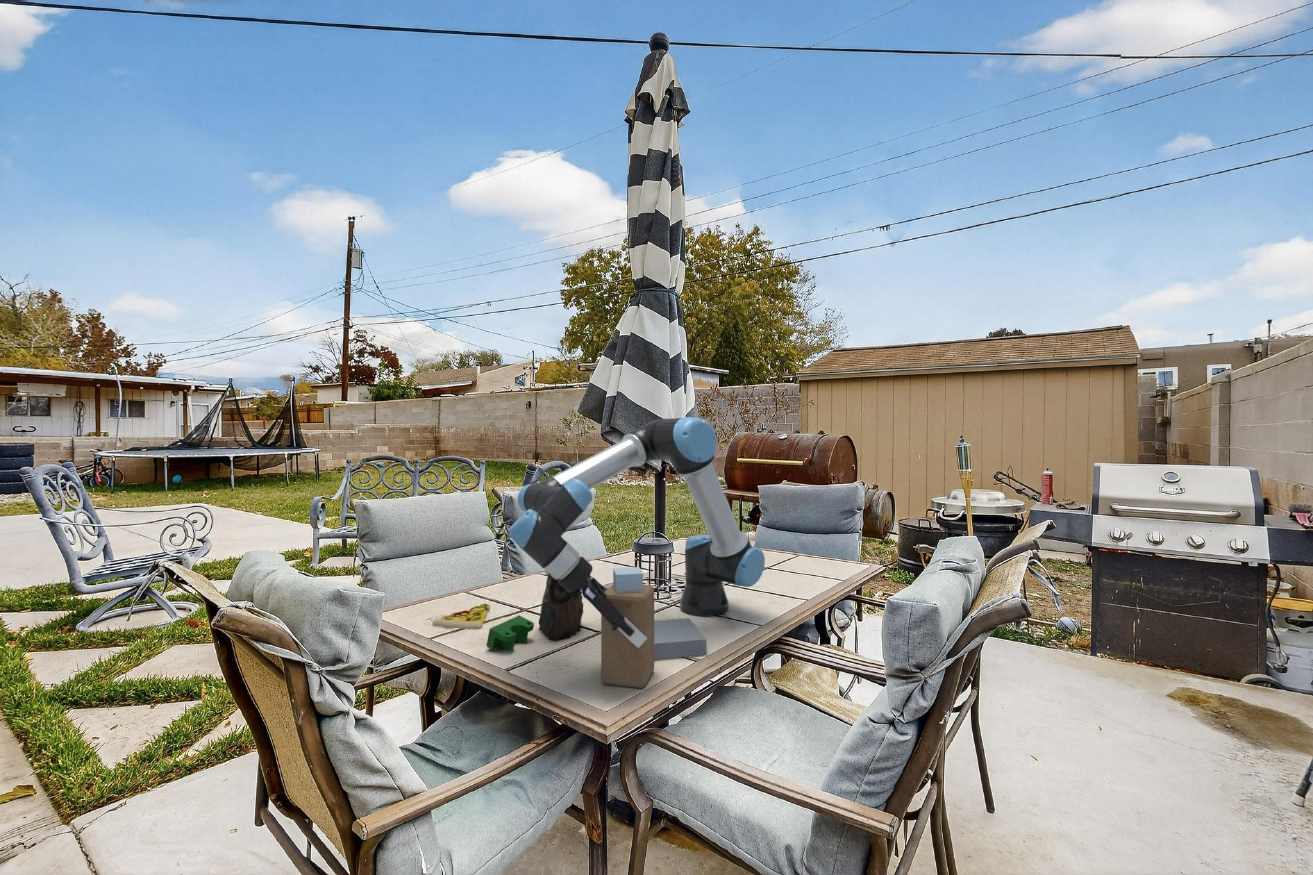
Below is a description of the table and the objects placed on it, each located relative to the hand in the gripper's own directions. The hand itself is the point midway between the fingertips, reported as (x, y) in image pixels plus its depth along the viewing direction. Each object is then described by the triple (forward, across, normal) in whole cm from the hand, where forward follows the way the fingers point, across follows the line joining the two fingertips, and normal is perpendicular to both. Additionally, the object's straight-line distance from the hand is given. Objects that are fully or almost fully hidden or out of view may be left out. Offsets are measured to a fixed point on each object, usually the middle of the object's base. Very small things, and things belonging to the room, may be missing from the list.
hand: (637, 632), depth 122 cm
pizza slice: (-22, -51, -37) cm, 67 cm away
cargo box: (-8, 0, +6) cm, 10 cm away
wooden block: (+6, 0, -9) cm, 10 cm away
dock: (+14, -16, 0) cm, 21 cm away
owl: (-4, -33, -19) cm, 38 cm away
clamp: (-13, -25, -28) cm, 40 cm away
